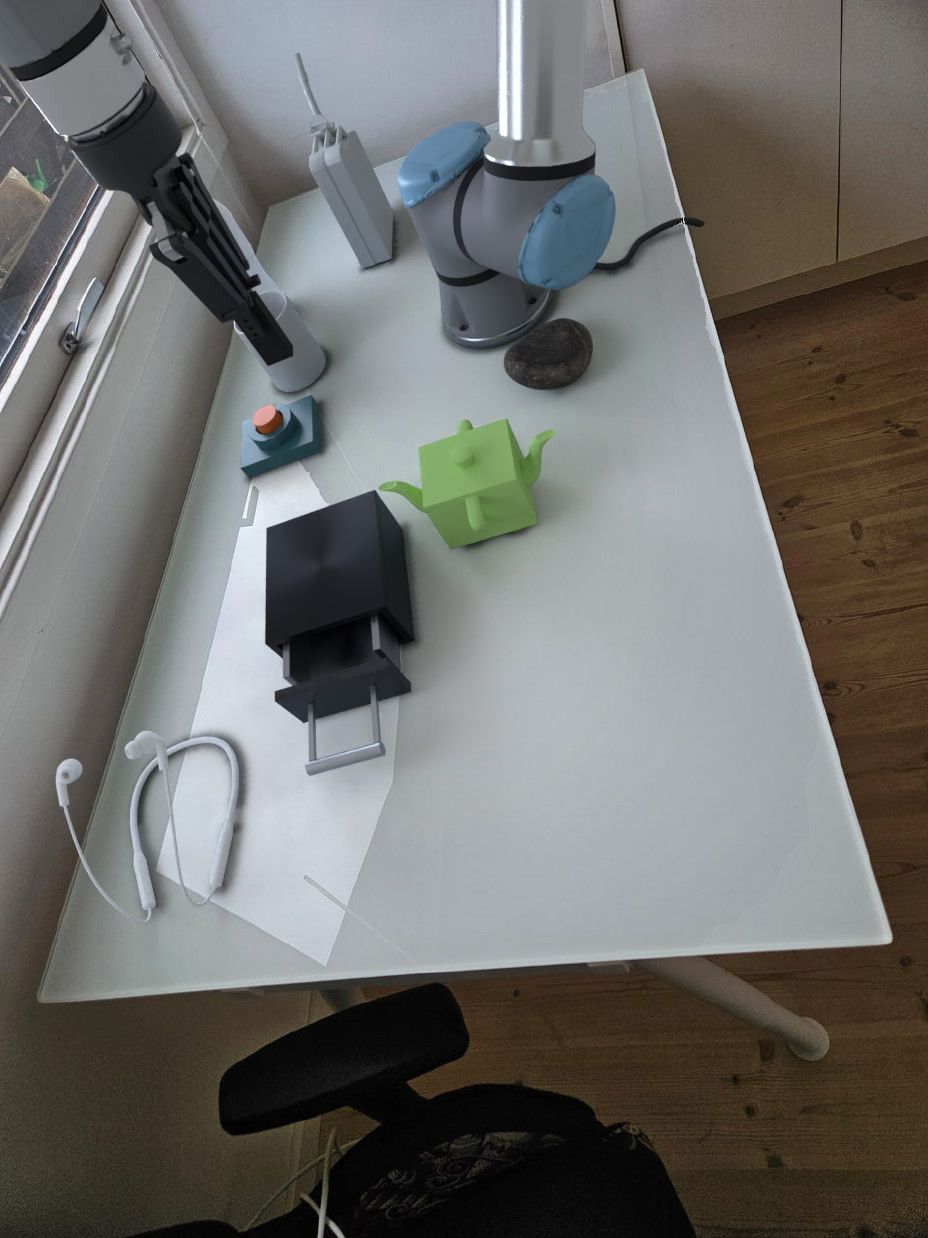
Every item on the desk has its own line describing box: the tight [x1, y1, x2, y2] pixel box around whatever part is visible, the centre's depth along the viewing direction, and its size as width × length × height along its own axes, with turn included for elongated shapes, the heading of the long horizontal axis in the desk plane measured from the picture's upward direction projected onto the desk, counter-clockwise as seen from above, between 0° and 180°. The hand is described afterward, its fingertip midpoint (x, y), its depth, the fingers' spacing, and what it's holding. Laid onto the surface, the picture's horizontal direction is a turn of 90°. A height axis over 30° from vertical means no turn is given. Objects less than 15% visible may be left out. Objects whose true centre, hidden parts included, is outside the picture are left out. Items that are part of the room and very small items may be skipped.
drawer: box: [274, 613, 413, 777], centre depth 85 cm, size 22×13×6 cm, turn 7°
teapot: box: [377, 418, 557, 550], centre depth 89 cm, size 15×13×11 cm
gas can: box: [292, 52, 394, 269], centre depth 119 cm, size 15×5×25 cm, turn 1°
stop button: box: [251, 404, 282, 434], centre depth 109 cm, size 4×4×2 cm
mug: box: [233, 290, 327, 393], centre depth 115 cm, size 12×8×11 cm
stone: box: [503, 317, 594, 391], centre depth 99 cm, size 11×11×5 cm
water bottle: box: [212, 197, 283, 295], centre depth 118 cm, size 7×7×25 cm
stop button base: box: [239, 394, 322, 479], centre depth 111 cm, size 11×9×4 cm
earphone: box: [55, 730, 240, 925], centre depth 84 cm, size 14×17×18 cm
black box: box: [264, 489, 416, 660], centre depth 91 cm, size 16×14×8 cm
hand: (280, 355), depth 77 cm, fingers closed
